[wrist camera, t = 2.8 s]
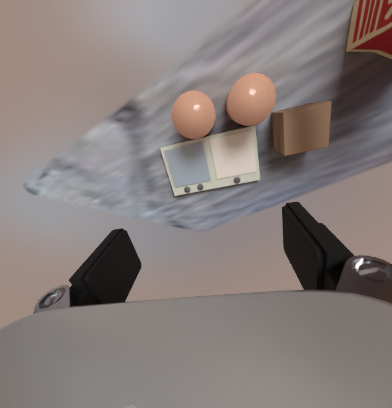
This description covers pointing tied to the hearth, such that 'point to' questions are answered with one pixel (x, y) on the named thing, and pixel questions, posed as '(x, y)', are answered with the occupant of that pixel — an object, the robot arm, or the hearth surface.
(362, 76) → the hearth surface
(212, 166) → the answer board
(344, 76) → the hearth surface
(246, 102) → the peach egg shape
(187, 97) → the egg
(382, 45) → the milk carton
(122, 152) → the hearth surface
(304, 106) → the brown cube
